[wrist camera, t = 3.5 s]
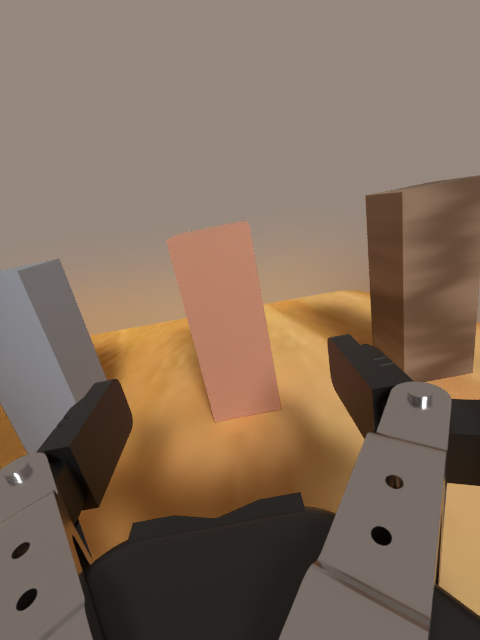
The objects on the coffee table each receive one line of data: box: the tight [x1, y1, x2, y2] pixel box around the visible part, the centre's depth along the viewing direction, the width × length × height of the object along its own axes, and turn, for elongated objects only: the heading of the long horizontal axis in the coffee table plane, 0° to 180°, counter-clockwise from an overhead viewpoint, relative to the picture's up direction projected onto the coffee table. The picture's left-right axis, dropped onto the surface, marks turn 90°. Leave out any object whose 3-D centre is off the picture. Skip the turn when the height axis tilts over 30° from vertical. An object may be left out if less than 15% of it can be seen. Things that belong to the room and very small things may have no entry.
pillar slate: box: [0, 259, 107, 454], centre depth 21 cm, size 4×4×12 cm
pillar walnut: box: [366, 176, 480, 382], centre depth 20 cm, size 4×4×12 cm
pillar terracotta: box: [167, 221, 281, 422], centre depth 21 cm, size 4×4×12 cm
